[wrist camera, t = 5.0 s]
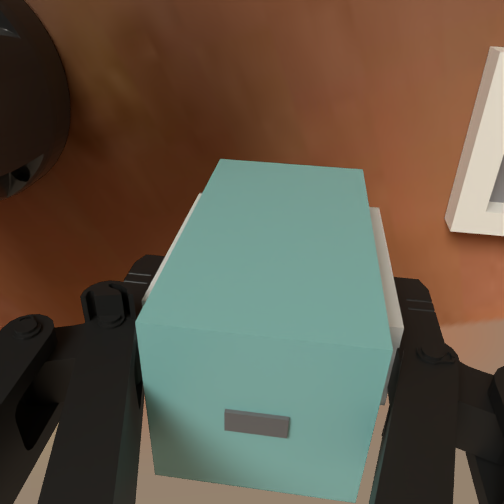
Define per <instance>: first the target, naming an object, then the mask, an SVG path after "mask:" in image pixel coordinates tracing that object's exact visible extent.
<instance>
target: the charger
mask: <svg viewBox="0 0 504 504" xmlns="http://www.w3.org/2000/svg"><path fill="white" fill-rule="evenodd" d="M135 325H136V333H137V340H138V348H139V355H140V363H141V371H142V378H143V386H144V393H145V401H146V408H147V416H148V424H149V431H150V439H151V447H152V454H153V462H154V470H155V474H156V475H162V476H168V477H177V478H182V479H190V480H197V481H204V482H211V483H218V484H225V485H232V486H239V487H246V488H253V489H261V490H267V491H275V492H282V493H289V494H296V495H303V496H310V497H317V498H325V499H331V500H338V501H345V502H353V503H355V502H356V498H357V494H358V490H359V486H360V482H361V478H362V474H363V470H364V466H365V462H366V458H367V453H368V450H369V446H370V442H371V438H372V434H373V430H374V426H375V421H376V417H377V413H378V410H379V405H380V402H381V397H382V393H383V389H384V385H385V381H386V377H387V373H388V369H389V365H390V361H391V357H392V353H393V347H392V341H391V335H390V329H389V323H388V317H387V311H386V305H385V299H384V293H383V287H382V281H381V275H380V269H379V263H378V258H377V252H376V246H375V240H374V234H373V228H372V222H371V216H370V210H369V204H368V198H367V192H366V186H365V180H364V174H363V170H362V169H349V168H336V167H322V166H309V165H296V164H282V163H269V162H256V161H242V160H229V159H220V160H219V162H218V164H217V166H216V168H215V170H214V172H213V174H212V176H211V177H210V179H209V181H208V183H207V185H206V187H205V189H204V191H203V193H202V195H201V197H200V199H199V201H198V202H197V204H196V206H195V208H194V210H193V212H192V214H191V216H190V218H189V220H188V222H187V224H186V225H185V227H184V229H183V231H182V233H181V235H180V237H179V239H178V241H177V243H176V245H175V247H174V249H173V250H172V252H171V254H170V256H169V258H168V260H167V262H166V264H165V266H164V268H163V270H162V272H161V273H160V275H159V277H158V279H157V281H156V283H155V285H154V287H153V289H152V291H151V293H150V295H149V297H148V298H147V300H146V302H145V304H144V306H143V308H142V310H141V312H140V314H139V316H138V318H137V320H136V321H135Z"/></svg>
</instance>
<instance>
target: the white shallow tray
mask: <svg viewBox="0 0 504 504" xmlns="http://www.w3.org/2000/svg"><path fill="white" fill-rule="evenodd" d="M445 221H446V223H447V225H448V227H449V230H450V231H452V232H464V233H475V234H486V235H498V236H504V47H490V49H489V53H488V57H487V60H486V64H485V68H484V72H483V75H482V79H481V83H480V87H479V90H478V94H477V98H476V102H475V105H474V109H473V113H472V117H471V120H470V124H469V128H468V132H467V135H466V139H465V143H464V147H463V150H462V154H461V158H460V162H459V165H458V169H457V173H456V177H455V180H454V184H453V188H452V192H451V195H450V199H449V203H448V207H447V210H446V214H445Z"/></svg>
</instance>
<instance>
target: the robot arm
mask: <svg viewBox="0 0 504 504" xmlns="http://www.w3.org/2000/svg"><path fill="white" fill-rule="evenodd" d="M69 126H70V97H69V90H68V85H67V80H66V76H65V72H64V69H63V66H62V63H61V61H60V58H59V56H58V53H57V51H56V49H55V47H54V45H53V42H52V41H51V39H50V37H49V35H48V33H47V32H46V30H45V28H44V27H43V25H42V24H41V22H40V21H39V19H38V18H37V16H36V15H35V14H34V12H33V11H32V10H31V9H30V7H29V6H28V5H27V4H26V3H25V1H24V0H0V200H4V199H6V198H9V197H11V196H14V195H16V194H18V193H20V192H21V191H23V190H25V189H26V188H28V187H29V186H30V185H32V184H33V183H34V182H36V181H37V180H38V179H40V178H41V177H42V176H43V175H45V174H46V173H47V172H48V171H49V170H50V169H51V168H52V167H53V165H54V164H55V163H56V161H57V160H58V158H59V156H60V155H61V153H62V150H63V148H64V146H65V143H66V140H67V136H68V131H69ZM201 195H202V193H199V195H198V196H197V198H196V200H195V202H194V204H193V206H192V208H191V209H190V211H189V213H188V215H187V217H186V219H185V221H184V223H183V224H182V226H181V228H180V230H179V232H178V234H177V236H176V237H175V239H174V241H173V243H172V245H171V247H170V249H169V250H168V252H167V254H166V256H156V255H145V256H144V257H142V258H141V259H139V260H138V261H136V262H135V263H134V265H133V266H132V268H131V269H130V271H129V274H127V276H126V277H125V279H124V282H120V281H104V282H99V283H97V284H94V285H91V286H90V287H89V288H87V289H86V290H84V292H83V293H82V295H81V296H80V298H81V303H82V308H83V313H84V318H85V323H84V324H79V325H74V326H66V327H57V328H54V324H53V320H51V319H50V318H49V317H48V316H44V315H40V314H32V315H26V316H22V317H19V318H17V319H15V320H13V321H11V322H9V323H8V324H7V325H6V326H4V327H3V328H2V329H1V331H0V504H13V503H14V501H15V499H16V498H17V496H18V494H19V492H20V490H21V489H22V487H23V485H24V483H25V482H26V480H27V478H28V476H29V474H30V473H31V471H32V469H33V467H34V465H35V464H36V462H37V460H38V458H39V456H40V455H41V453H42V451H43V449H44V447H45V446H46V444H47V442H48V440H49V439H50V437H51V435H52V433H53V431H54V430H55V428H56V426H57V424H58V422H59V425H58V428H57V432H56V435H55V439H54V443H53V447H52V451H51V455H50V459H49V463H48V466H47V470H46V474H45V477H44V482H43V485H42V489H41V493H40V497H39V500H38V504H135V499H136V487H137V476H138V464H139V452H140V441H141V429H142V416H143V404H144V386H143V378H142V371H141V363H140V355H139V348H138V340H137V333H136V325H135V321H136V320H137V318H138V316H139V314H140V312H141V310H142V308H143V306H144V304H145V302H146V300H147V298H148V297H149V295H150V293H151V291H152V289H153V287H154V285H155V283H156V281H157V279H158V277H159V275H160V273H161V272H162V270H163V268H164V266H165V264H166V262H167V260H168V258H169V256H170V254H171V252H172V250H173V249H174V247H175V245H176V243H177V241H178V239H179V237H180V235H181V233H182V231H183V229H184V227H185V225H186V224H187V222H188V220H189V218H190V216H191V214H192V212H193V210H194V208H195V206H196V204H197V202H198V201H199V199H200V197H201ZM369 210H370V216H371V222H372V228H373V234H374V240H375V246H376V252H377V258H378V263H379V269H380V275H381V281H382V287H383V293H384V299H385V305H386V311H387V317H388V323H389V329H390V335H391V341H392V347H393V353H392V357H391V361H390V365H389V369H388V373H387V377H386V381H385V385H384V389H383V393H382V397H381V402H380V405H385V401H386V398H387V394H388V396H389V404H390V406H389V410H388V413H387V417H386V421H385V425H384V429H383V433H382V436H383V437H382V442H381V447H380V451H379V456H378V461H377V466H376V471H375V476H374V481H373V486H372V491H371V495H370V500H369V504H453V488H454V468H455V448H458V449H461V450H463V451H466V456H467V460H468V464H469V468H470V471H471V475H472V479H473V483H474V486H475V490H476V494H477V498H478V501H479V504H504V366H503V367H501V368H499V369H497V371H496V373H495V374H494V375H491V374H488V373H485V372H482V371H479V370H476V369H474V368H471V367H468V366H467V365H465V364H463V363H461V362H460V361H459V358H458V355H457V354H456V353H455V351H454V350H453V349H452V348H451V347H449V346H448V345H447V344H445V343H444V339H443V337H442V333H441V330H440V326H439V323H438V320H437V317H436V313H435V312H434V307H433V303H432V300H431V297H430V294H429V290H428V289H427V288H426V287H425V286H424V285H423V284H422V283H421V282H420V280H419V279H409V278H398V277H393V273H392V268H391V263H390V258H389V254H388V249H387V244H386V239H385V234H384V230H383V225H382V220H381V215H380V210H379V208H374V207H369Z"/></svg>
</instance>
